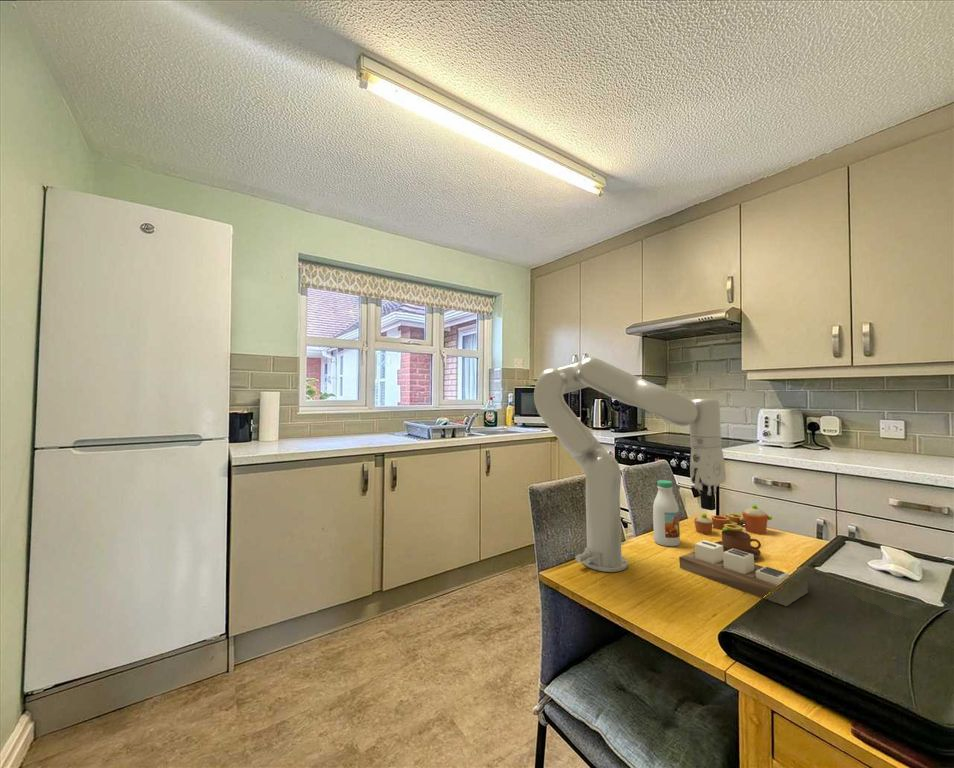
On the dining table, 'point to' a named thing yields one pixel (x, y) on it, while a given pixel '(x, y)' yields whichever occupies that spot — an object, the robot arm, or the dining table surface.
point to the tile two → (738, 561)
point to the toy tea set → (735, 522)
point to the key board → (727, 575)
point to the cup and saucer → (739, 542)
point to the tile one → (709, 552)
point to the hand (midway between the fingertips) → (708, 508)
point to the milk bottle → (666, 515)
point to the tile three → (771, 575)
